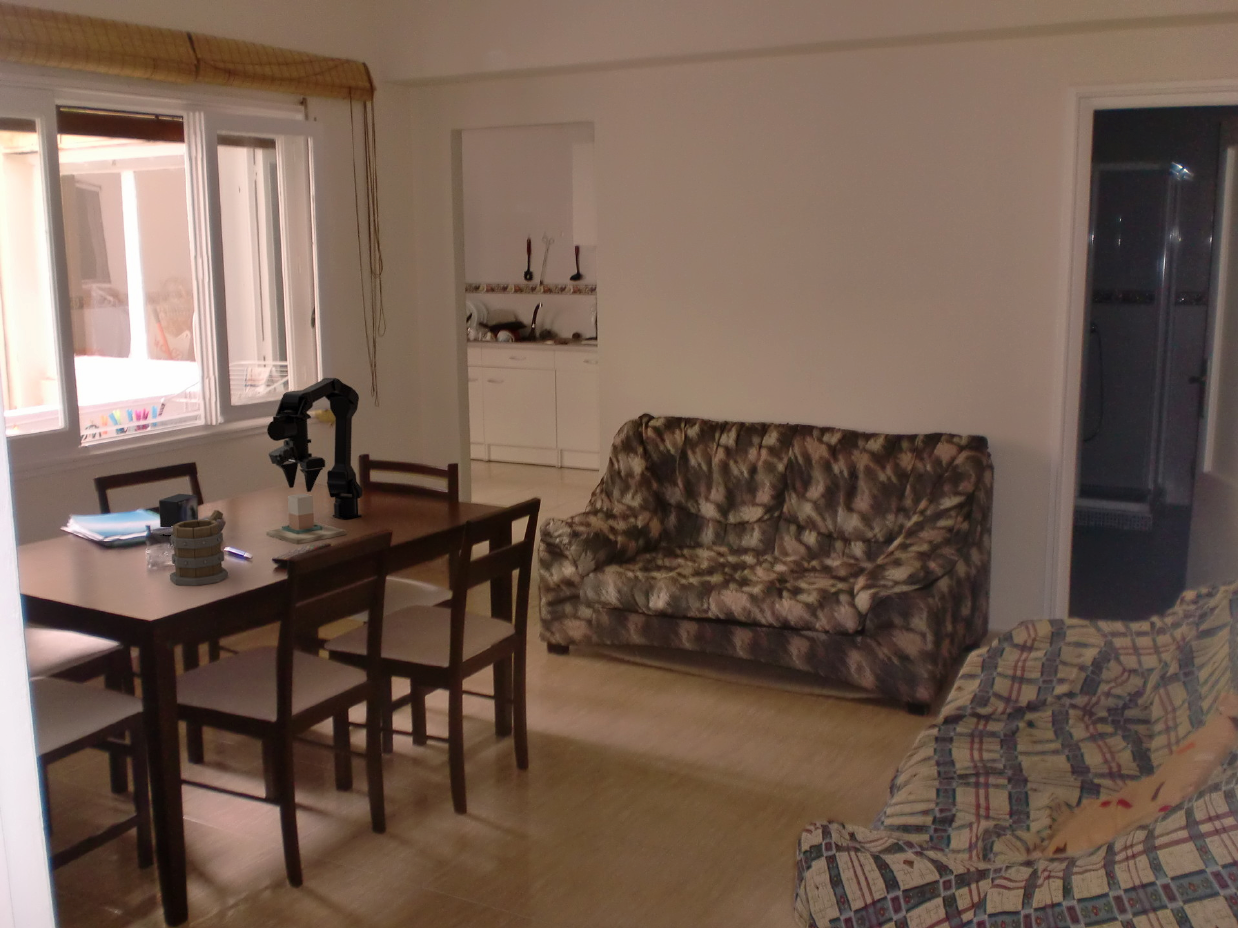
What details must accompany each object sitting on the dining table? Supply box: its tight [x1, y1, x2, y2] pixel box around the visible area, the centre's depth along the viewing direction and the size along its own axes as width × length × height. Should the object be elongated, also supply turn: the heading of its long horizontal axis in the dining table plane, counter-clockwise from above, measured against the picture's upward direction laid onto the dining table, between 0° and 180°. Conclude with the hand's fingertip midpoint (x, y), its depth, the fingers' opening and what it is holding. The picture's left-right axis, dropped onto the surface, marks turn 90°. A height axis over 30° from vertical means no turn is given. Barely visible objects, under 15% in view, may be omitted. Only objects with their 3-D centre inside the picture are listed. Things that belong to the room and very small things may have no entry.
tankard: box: [169, 509, 229, 587], centre depth 288 cm, size 20×13×15 cm, turn 171°
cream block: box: [287, 493, 314, 515], centre depth 332 cm, size 5×5×5 cm
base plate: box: [265, 521, 347, 545], centre depth 332 cm, size 16×16×2 cm
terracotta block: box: [288, 512, 315, 530], centre depth 333 cm, size 5×5×5 cm
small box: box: [158, 493, 199, 528], centre depth 335 cm, size 11×6×10 cm, turn 169°
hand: (300, 489), depth 331 cm, fingers open, 9 cm apart
